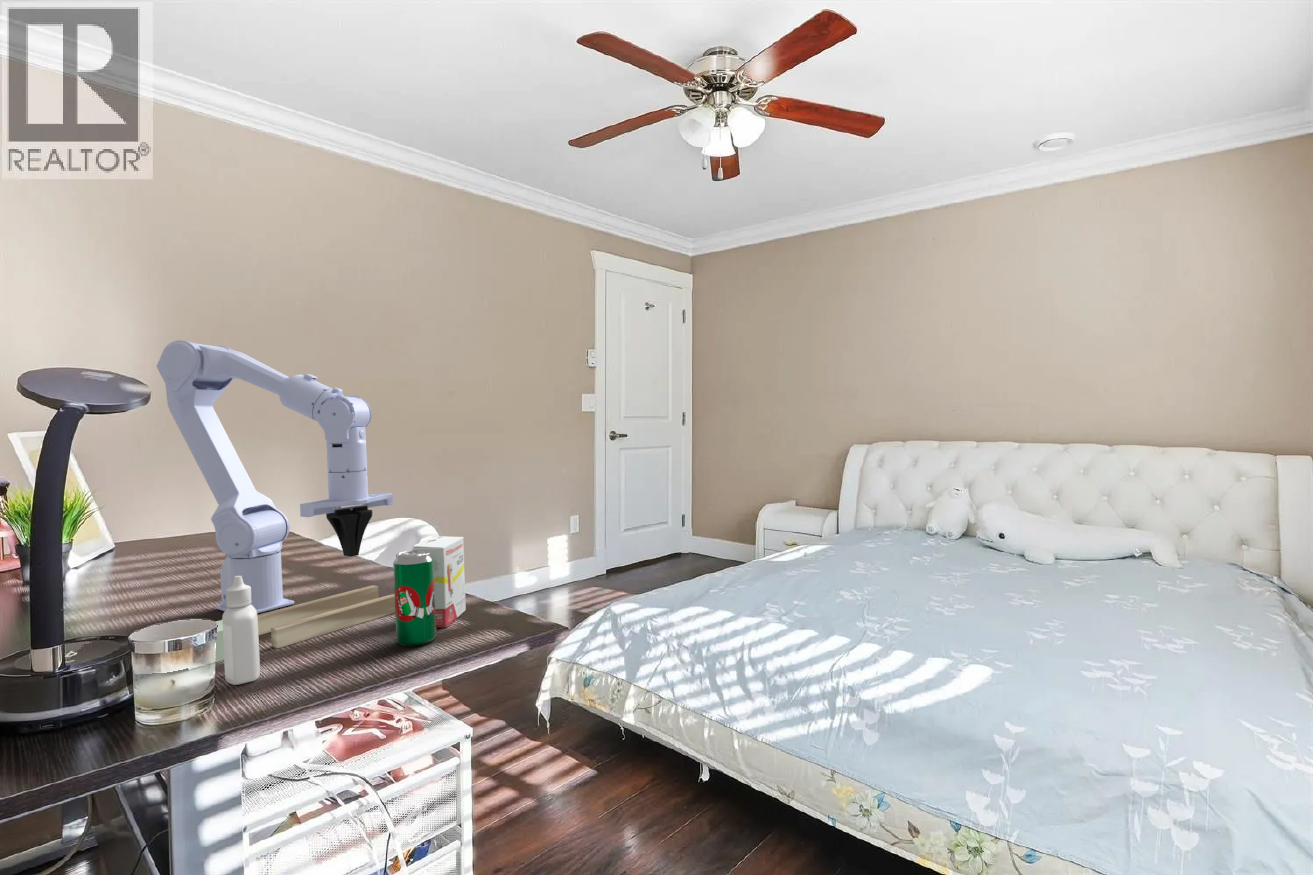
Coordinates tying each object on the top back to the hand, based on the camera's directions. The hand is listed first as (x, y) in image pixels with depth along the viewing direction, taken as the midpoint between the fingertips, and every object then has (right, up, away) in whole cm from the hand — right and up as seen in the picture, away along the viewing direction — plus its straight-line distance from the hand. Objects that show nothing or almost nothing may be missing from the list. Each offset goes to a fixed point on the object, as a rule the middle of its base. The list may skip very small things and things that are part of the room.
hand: (351, 555), depth 102 cm
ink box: (+17, -9, -7) cm, 20 cm away
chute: (0, -9, -7) cm, 11 cm away
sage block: (-8, -10, -20) cm, 24 cm away
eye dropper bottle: (0, -10, -27) cm, 29 cm away
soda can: (+17, -9, -16) cm, 25 cm away
